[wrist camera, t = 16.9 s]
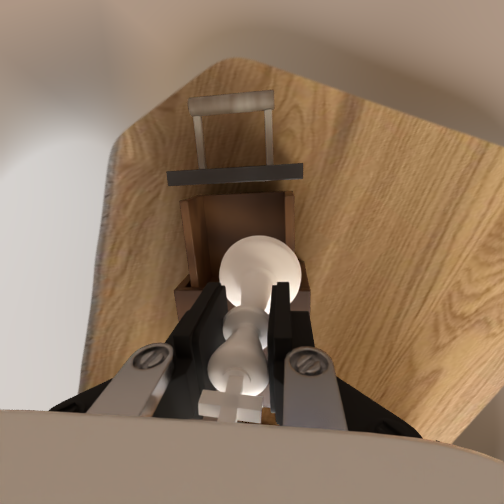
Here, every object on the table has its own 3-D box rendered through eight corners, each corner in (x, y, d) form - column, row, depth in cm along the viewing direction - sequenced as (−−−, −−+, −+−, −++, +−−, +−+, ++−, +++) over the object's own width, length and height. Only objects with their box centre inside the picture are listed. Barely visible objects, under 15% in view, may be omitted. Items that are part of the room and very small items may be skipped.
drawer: (182, 110, 26) (154, 94, 20) (299, 100, 24) (303, 79, 19) (203, 279, 31) (185, 303, 26) (299, 279, 30) (302, 304, 24)
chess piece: (297, 313, 16) (316, 517, 7) (220, 306, 17) (138, 487, 7) (305, 237, 15) (343, 365, 5) (220, 232, 15) (114, 340, 6)
